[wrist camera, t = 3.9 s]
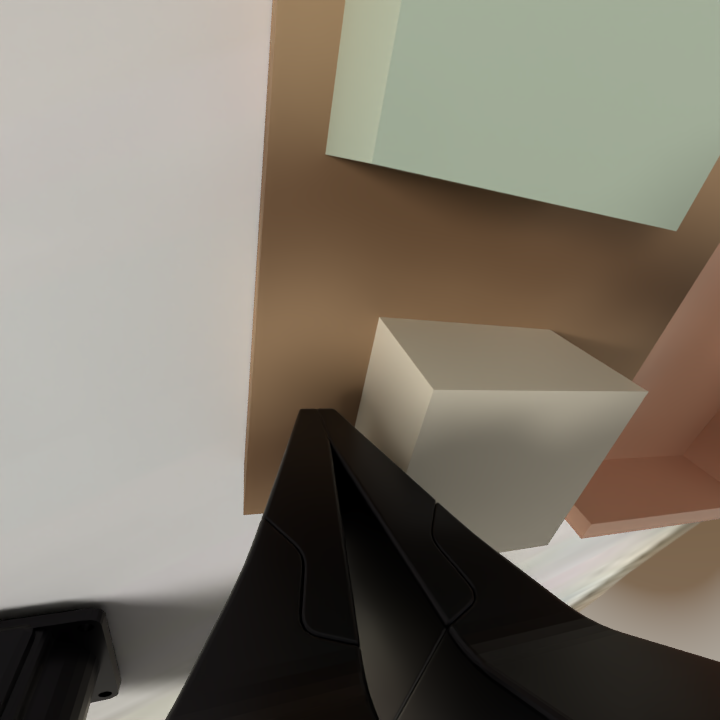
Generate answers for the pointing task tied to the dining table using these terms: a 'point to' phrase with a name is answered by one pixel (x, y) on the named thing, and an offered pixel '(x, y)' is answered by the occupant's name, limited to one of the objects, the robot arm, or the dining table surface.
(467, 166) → the sage green square block
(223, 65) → the dining table surface
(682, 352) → the tray
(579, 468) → the ivory rectangular block
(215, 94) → the dining table surface
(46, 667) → the robot arm
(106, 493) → the dining table surface
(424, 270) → the board
